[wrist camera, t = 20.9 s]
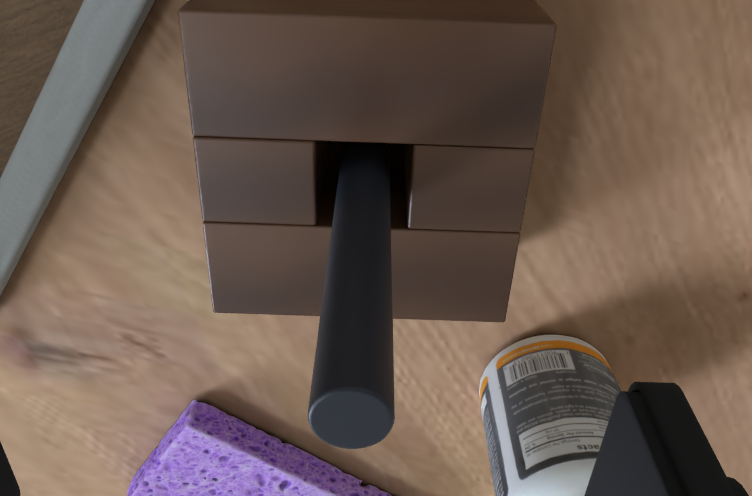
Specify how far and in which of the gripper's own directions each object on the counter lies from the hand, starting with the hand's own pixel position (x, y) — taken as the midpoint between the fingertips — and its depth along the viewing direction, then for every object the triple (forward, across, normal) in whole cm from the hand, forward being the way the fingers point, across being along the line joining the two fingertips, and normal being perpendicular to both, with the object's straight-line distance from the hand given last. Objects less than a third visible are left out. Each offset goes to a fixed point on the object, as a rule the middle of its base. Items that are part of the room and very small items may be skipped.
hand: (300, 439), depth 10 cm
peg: (+15, -1, +2) cm, 15 cm away
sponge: (+14, +3, +21) cm, 25 cm away
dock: (+15, -1, +2) cm, 15 cm away
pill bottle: (+15, -9, +13) cm, 21 cm away
